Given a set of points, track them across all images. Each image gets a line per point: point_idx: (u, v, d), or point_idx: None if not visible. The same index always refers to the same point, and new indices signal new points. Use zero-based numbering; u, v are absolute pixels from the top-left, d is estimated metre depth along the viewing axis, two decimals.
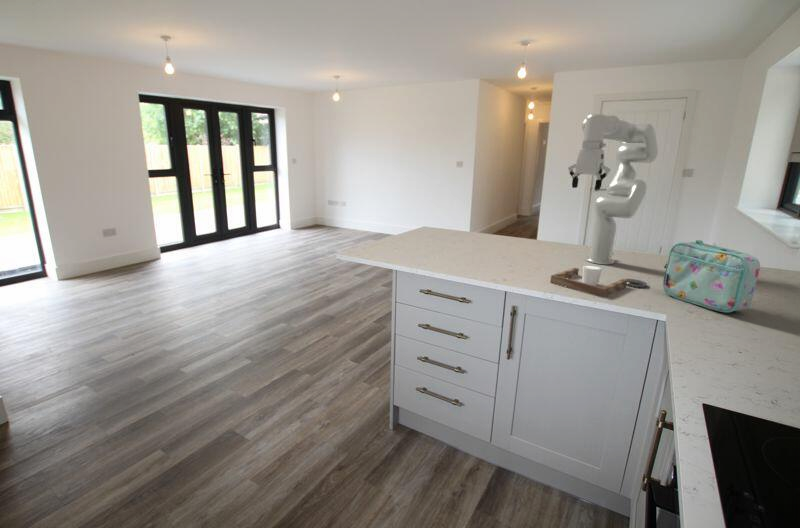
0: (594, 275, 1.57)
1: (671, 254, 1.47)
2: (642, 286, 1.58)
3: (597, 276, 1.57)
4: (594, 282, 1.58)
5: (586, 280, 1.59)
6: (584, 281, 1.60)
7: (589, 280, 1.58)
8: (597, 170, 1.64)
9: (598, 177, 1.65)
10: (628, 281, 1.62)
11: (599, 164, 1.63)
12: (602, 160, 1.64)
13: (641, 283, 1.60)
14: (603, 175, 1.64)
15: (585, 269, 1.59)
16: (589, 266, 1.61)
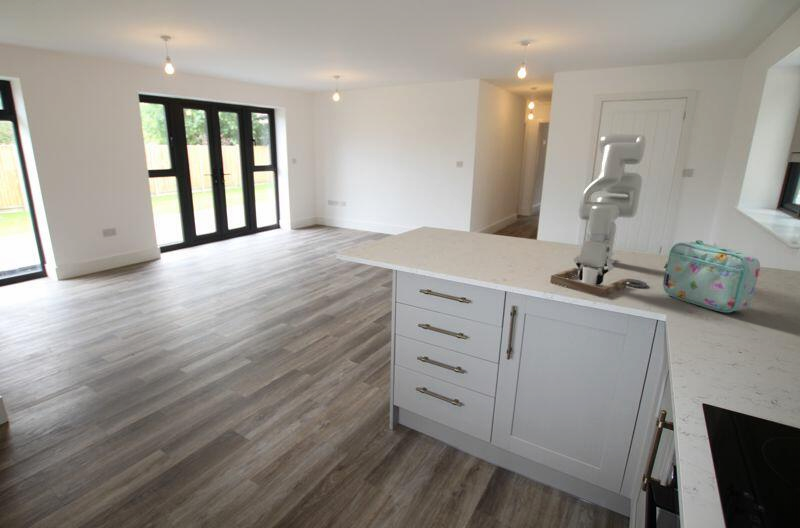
0: (594, 275, 1.57)
1: (671, 254, 1.47)
2: (642, 286, 1.58)
3: None
4: (594, 282, 1.58)
5: (586, 280, 1.59)
6: (584, 281, 1.60)
7: (589, 280, 1.58)
8: (603, 264, 1.54)
9: (600, 272, 1.56)
10: (628, 281, 1.62)
11: (605, 258, 1.54)
12: (608, 253, 1.54)
13: (641, 283, 1.60)
14: (605, 271, 1.55)
15: (585, 269, 1.59)
16: (589, 266, 1.61)
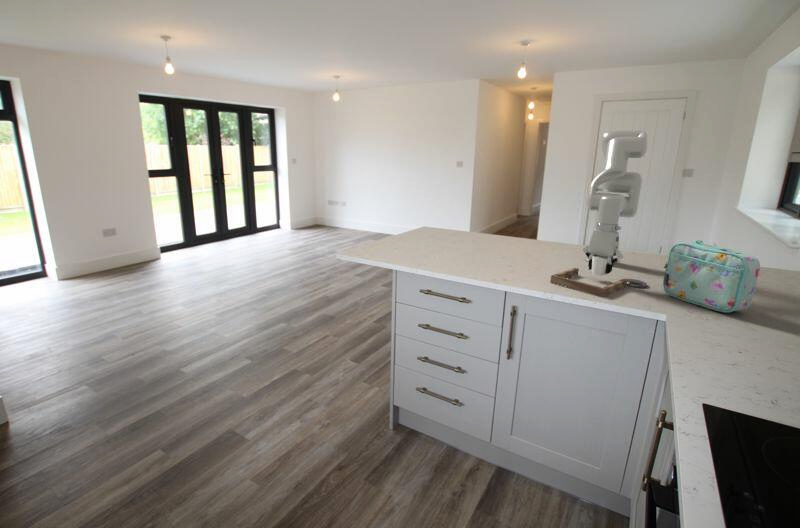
0: (603, 264, 1.61)
1: (671, 254, 1.47)
2: (642, 286, 1.58)
3: (606, 265, 1.61)
4: (603, 271, 1.62)
5: (595, 269, 1.63)
6: (593, 270, 1.64)
7: (598, 269, 1.62)
8: (612, 253, 1.58)
9: (609, 261, 1.60)
10: (628, 281, 1.62)
11: (614, 247, 1.57)
12: (617, 243, 1.58)
13: (641, 283, 1.60)
14: (614, 260, 1.59)
15: (594, 258, 1.62)
16: (598, 255, 1.65)
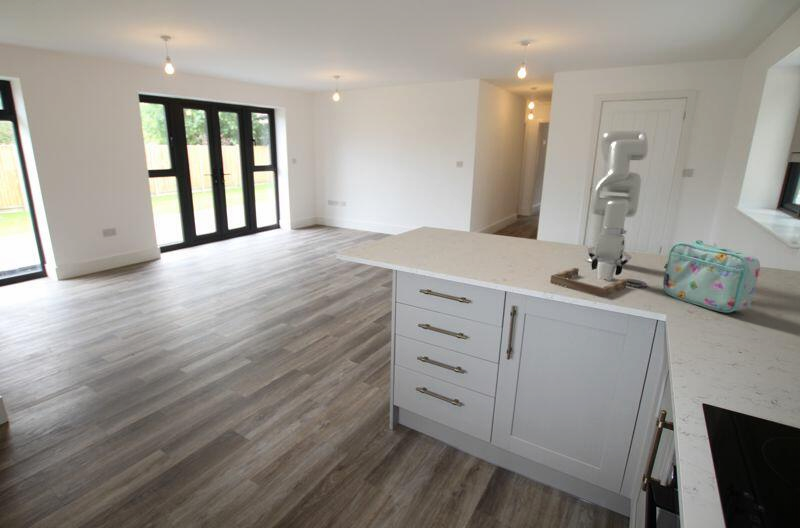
0: (609, 269, 1.65)
1: (671, 254, 1.47)
2: (642, 286, 1.58)
3: (612, 270, 1.66)
4: (609, 276, 1.66)
5: (601, 274, 1.67)
6: (599, 275, 1.68)
7: (604, 274, 1.67)
8: (618, 256, 1.62)
9: (619, 263, 1.63)
10: (628, 281, 1.62)
11: (620, 251, 1.61)
12: (623, 246, 1.62)
13: (641, 283, 1.60)
14: (624, 262, 1.62)
15: (600, 264, 1.67)
16: (604, 261, 1.69)
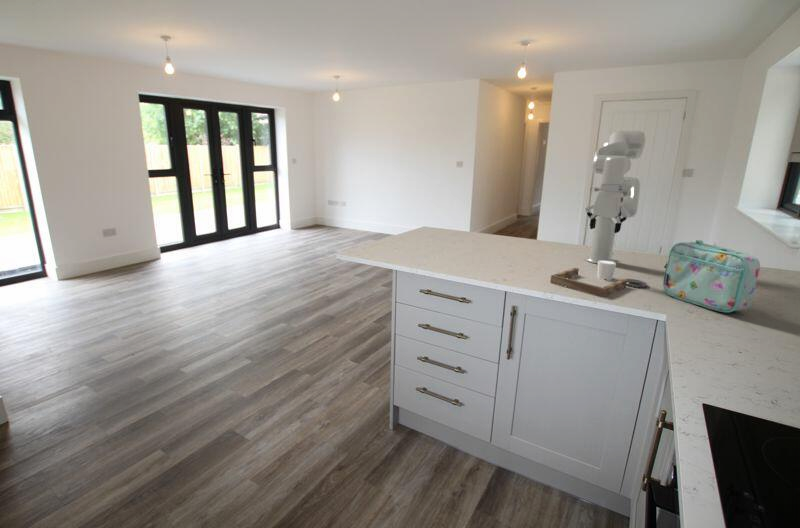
0: (609, 269, 1.65)
1: (671, 254, 1.47)
2: (642, 286, 1.58)
3: (612, 270, 1.66)
4: (609, 276, 1.66)
5: (601, 274, 1.67)
6: (599, 275, 1.68)
7: (604, 274, 1.67)
8: (617, 214, 1.60)
9: (618, 221, 1.61)
10: (628, 281, 1.62)
11: (619, 208, 1.60)
12: (622, 203, 1.60)
13: (641, 283, 1.60)
14: (623, 219, 1.60)
15: (600, 264, 1.67)
16: (604, 261, 1.69)
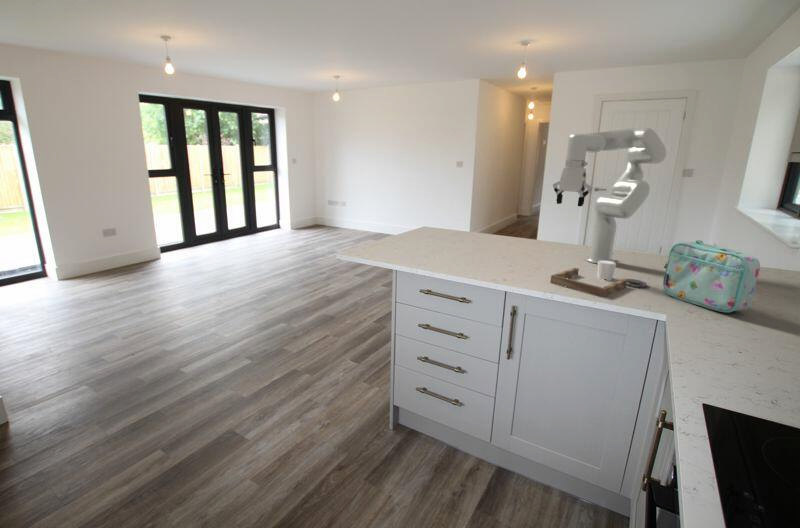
0: (609, 269, 1.65)
1: (671, 254, 1.47)
2: (642, 286, 1.58)
3: (612, 270, 1.66)
4: (609, 276, 1.66)
5: (601, 274, 1.67)
6: (599, 275, 1.68)
7: (604, 274, 1.67)
8: (579, 188, 1.70)
9: (581, 194, 1.71)
10: (628, 281, 1.62)
11: (581, 182, 1.70)
12: (584, 178, 1.71)
13: (641, 283, 1.60)
14: (585, 193, 1.70)
15: (600, 264, 1.67)
16: (604, 261, 1.69)
